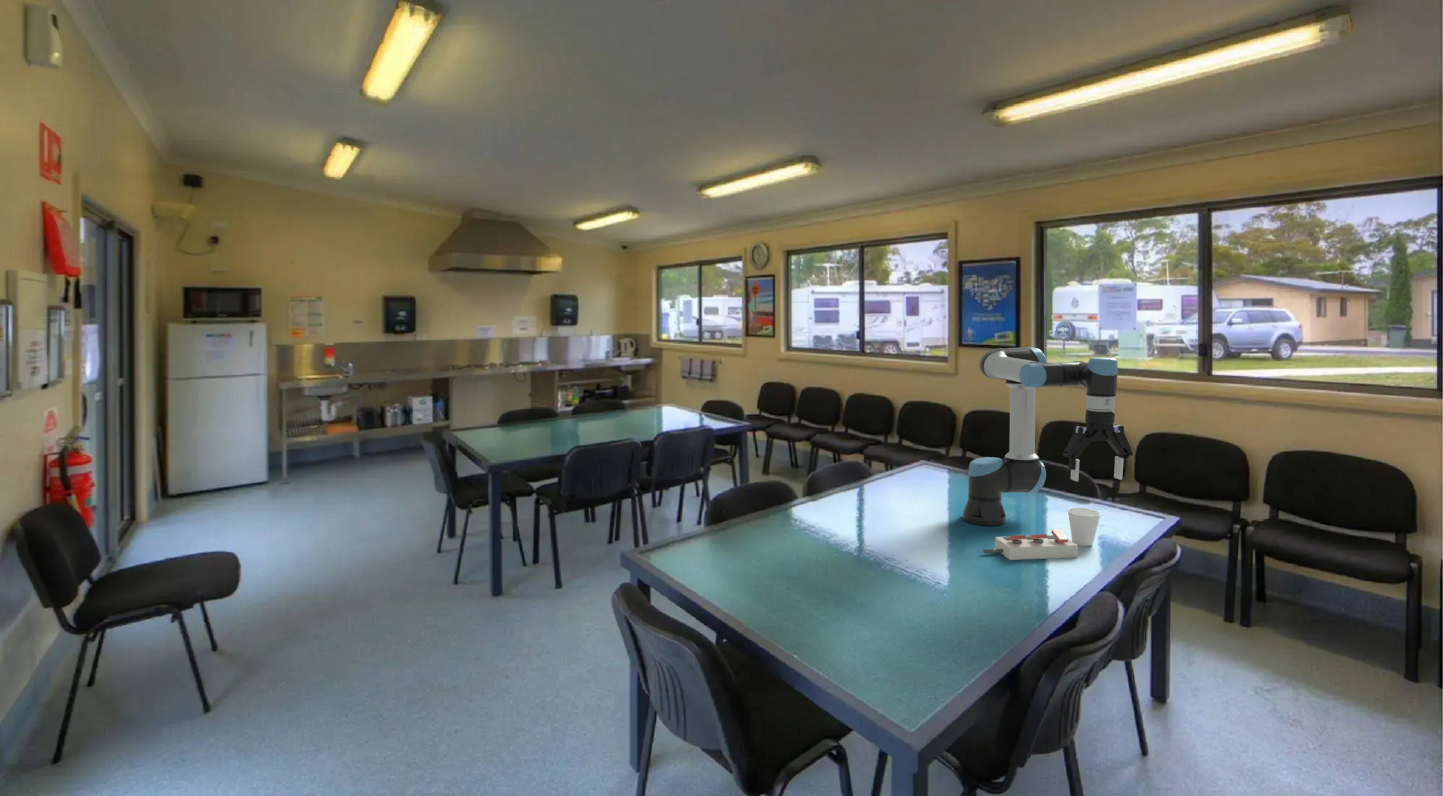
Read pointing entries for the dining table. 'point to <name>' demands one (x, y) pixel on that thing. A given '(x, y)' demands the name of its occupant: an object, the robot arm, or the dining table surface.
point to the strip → (1034, 548)
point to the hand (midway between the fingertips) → (1096, 479)
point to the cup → (1083, 525)
